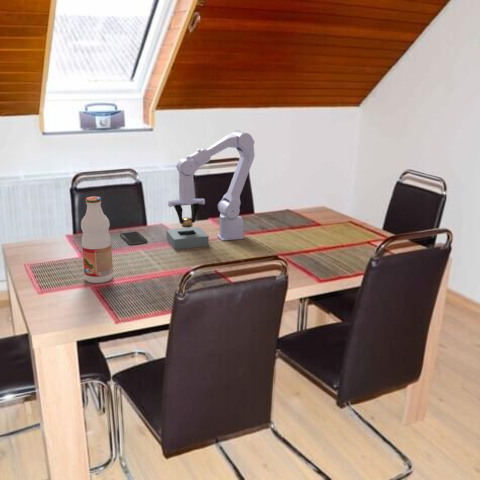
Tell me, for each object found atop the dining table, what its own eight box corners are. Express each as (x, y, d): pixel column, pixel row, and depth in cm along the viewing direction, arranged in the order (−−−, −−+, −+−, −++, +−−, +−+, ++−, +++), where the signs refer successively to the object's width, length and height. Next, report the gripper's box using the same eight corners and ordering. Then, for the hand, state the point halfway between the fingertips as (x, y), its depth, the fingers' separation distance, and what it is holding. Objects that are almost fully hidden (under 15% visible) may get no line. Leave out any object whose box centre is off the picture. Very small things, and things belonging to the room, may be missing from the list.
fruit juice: (111, 283, 184) (106, 201, 175) (82, 284, 183) (75, 201, 174) (114, 273, 193) (109, 194, 184) (87, 273, 192) (80, 194, 183)
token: (191, 224, 226) (190, 217, 225) (193, 227, 222) (193, 219, 222) (180, 225, 225) (180, 217, 224) (183, 228, 221) (182, 220, 220)
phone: (129, 243, 221) (119, 233, 234) (129, 246, 222) (119, 236, 234) (148, 241, 225) (137, 231, 237) (148, 243, 225) (137, 233, 238)
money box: (199, 235, 235) (199, 226, 233) (208, 245, 222) (208, 236, 221) (166, 238, 230) (166, 229, 229) (174, 249, 218) (174, 239, 216)
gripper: (170, 192, 213) (171, 226, 217) (206, 190, 218) (207, 223, 222) (166, 189, 219) (167, 222, 224) (201, 186, 224) (202, 219, 228)
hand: (187, 222), depth 223 cm, fingers closed on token, 4 cm apart
